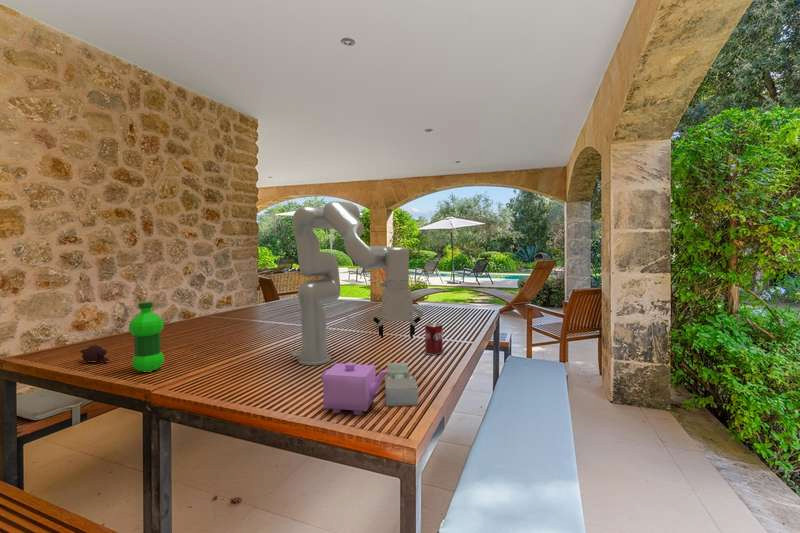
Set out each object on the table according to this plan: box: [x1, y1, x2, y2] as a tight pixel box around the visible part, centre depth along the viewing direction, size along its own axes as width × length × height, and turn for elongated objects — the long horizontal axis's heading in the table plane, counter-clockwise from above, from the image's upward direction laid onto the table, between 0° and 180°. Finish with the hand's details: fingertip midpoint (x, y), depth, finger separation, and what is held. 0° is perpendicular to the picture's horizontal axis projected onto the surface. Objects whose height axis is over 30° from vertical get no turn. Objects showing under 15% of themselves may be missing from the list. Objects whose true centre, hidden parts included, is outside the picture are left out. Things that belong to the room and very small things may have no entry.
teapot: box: [320, 361, 390, 416], centre depth 107 cm, size 20×10×12 cm, turn 79°
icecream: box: [79, 344, 110, 363], centre depth 152 cm, size 7×7×15 cm
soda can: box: [424, 322, 444, 356], centre depth 160 cm, size 7×7×12 cm
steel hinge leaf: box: [384, 374, 419, 407], centre depth 114 cm, size 9×12×5 cm
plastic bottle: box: [128, 301, 165, 372], centre depth 140 cm, size 10×10×25 cm
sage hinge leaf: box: [386, 362, 410, 379], centre depth 124 cm, size 6×14×5 cm, turn 4°
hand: (396, 337), depth 126 cm, fingers open, 9 cm apart
